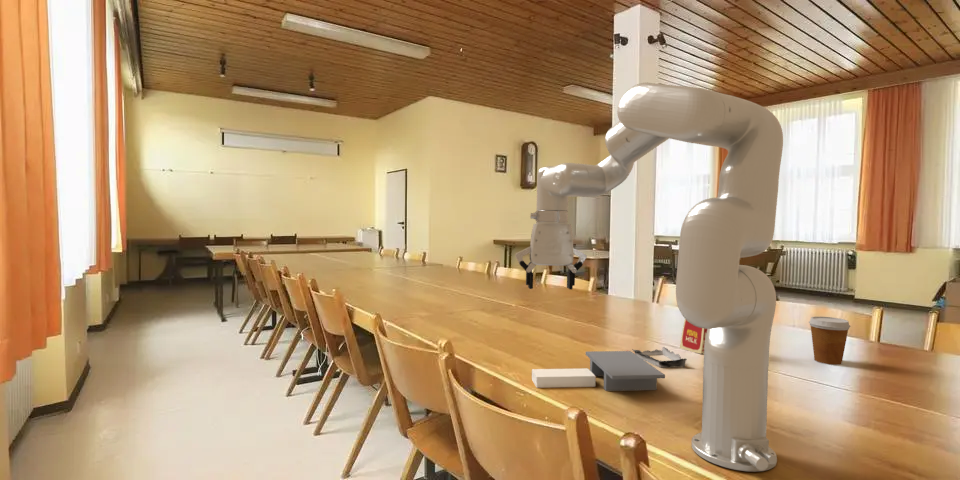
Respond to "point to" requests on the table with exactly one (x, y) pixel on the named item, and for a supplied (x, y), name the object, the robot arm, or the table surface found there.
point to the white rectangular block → (563, 378)
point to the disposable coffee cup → (829, 339)
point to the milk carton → (693, 338)
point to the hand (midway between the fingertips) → (550, 288)
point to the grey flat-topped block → (623, 370)
